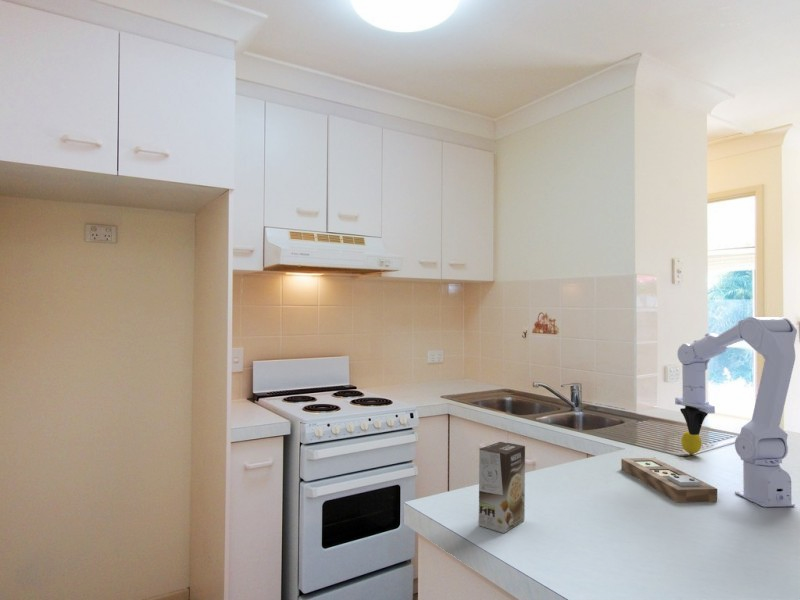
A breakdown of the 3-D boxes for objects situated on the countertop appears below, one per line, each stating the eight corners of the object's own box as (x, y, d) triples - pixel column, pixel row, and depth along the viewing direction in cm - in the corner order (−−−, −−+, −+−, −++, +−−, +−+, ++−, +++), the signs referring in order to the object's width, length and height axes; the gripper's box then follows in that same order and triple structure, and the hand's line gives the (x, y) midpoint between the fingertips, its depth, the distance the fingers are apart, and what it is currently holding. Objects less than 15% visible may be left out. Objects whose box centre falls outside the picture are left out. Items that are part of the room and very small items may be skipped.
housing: (717, 501, 123) (717, 488, 123) (677, 502, 122) (677, 489, 122) (654, 468, 149) (654, 458, 149) (621, 469, 148) (621, 458, 148)
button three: (680, 486, 133) (679, 475, 133) (661, 487, 133) (661, 475, 133) (668, 480, 138) (668, 469, 138) (650, 480, 138) (650, 469, 138)
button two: (700, 493, 125) (700, 480, 125) (680, 493, 125) (680, 481, 125) (687, 486, 130) (687, 474, 130) (668, 486, 130) (668, 474, 130)
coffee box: (505, 534, 104) (505, 454, 104) (477, 525, 108) (478, 448, 108) (525, 520, 111) (525, 445, 111) (499, 512, 115) (499, 440, 115)
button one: (661, 477, 141) (661, 465, 141) (644, 477, 141) (644, 466, 141) (651, 471, 146) (651, 460, 146) (634, 471, 146) (634, 461, 146)
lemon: (704, 457, 160) (704, 432, 160) (684, 456, 161) (684, 431, 162) (697, 453, 166) (697, 428, 166) (679, 452, 167) (678, 427, 167)
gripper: (725, 390, 140) (725, 440, 140) (690, 382, 155) (691, 428, 155) (700, 390, 140) (700, 440, 139) (668, 382, 154) (668, 428, 154)
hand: (694, 434), depth 147 cm, fingers closed
